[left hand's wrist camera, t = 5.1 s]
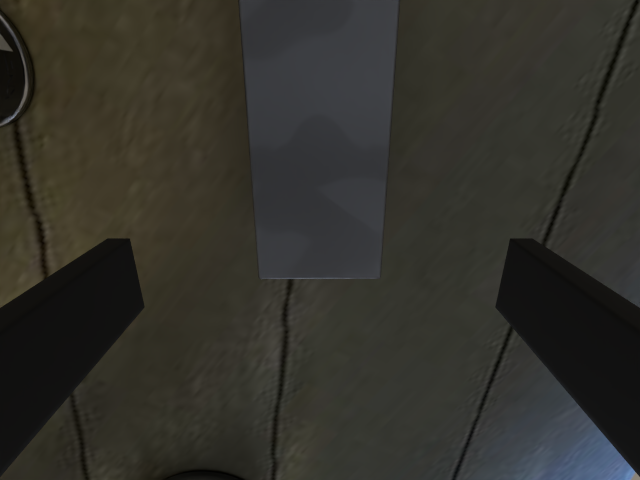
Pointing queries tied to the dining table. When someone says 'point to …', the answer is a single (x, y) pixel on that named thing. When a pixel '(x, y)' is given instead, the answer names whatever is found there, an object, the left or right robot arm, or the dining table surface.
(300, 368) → the dining table surface
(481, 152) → the dining table surface
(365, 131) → the cabinet
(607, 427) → the left robot arm
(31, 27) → the dining table surface
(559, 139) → the dining table surface
